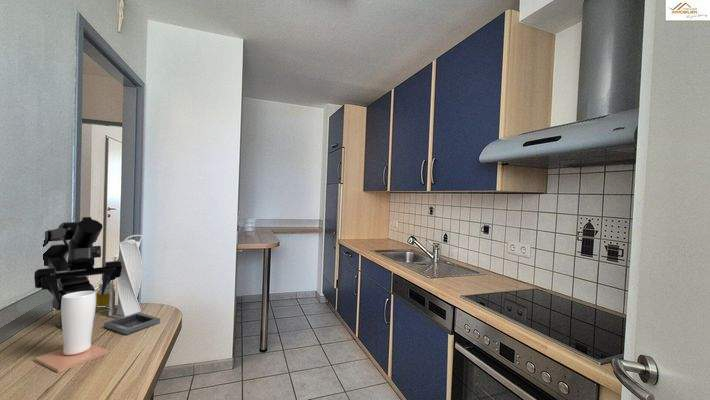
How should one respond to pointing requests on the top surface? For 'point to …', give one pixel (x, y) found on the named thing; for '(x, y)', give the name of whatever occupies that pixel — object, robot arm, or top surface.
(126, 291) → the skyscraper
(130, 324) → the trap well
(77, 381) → the top surface
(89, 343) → the white cup
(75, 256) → the robot arm
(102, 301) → the supplement bottle
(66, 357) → the terracotta tile
